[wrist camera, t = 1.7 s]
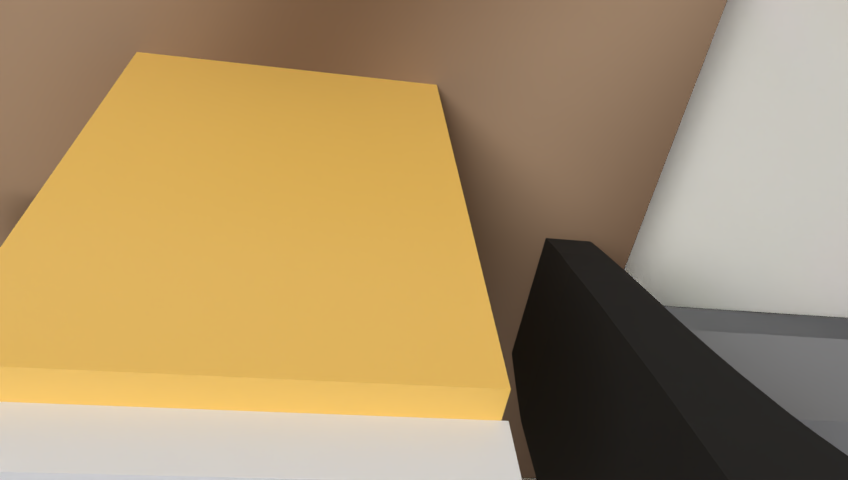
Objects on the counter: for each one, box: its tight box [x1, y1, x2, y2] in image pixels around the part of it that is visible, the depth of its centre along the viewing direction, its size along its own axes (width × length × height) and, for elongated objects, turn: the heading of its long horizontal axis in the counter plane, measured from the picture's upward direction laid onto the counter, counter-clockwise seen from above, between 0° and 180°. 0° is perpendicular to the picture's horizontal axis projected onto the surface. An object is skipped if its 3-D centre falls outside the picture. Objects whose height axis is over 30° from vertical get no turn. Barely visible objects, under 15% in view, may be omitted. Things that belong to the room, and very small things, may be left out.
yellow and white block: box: [0, 52, 522, 480], centre depth 8 cm, size 4×5×6 cm
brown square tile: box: [0, 0, 727, 478], centre depth 10 cm, size 10×10×1 cm
